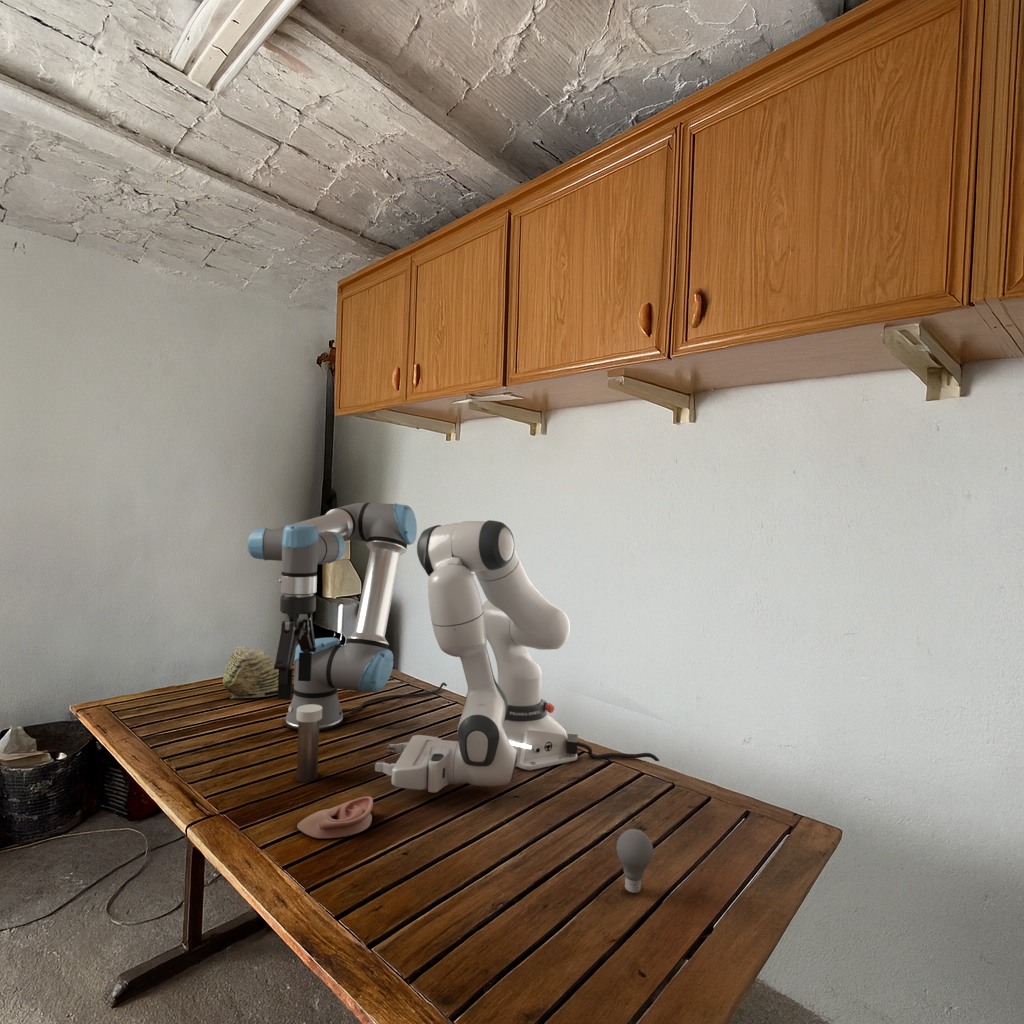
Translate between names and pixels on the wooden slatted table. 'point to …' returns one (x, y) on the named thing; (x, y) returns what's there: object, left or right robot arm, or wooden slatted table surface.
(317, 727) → the metal cylinder
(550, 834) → the wooden slatted table surface
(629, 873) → the light bulb
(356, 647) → the left robot arm
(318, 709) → the lid
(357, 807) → the anatomical model
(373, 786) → the wooden slatted table surface
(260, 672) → the fossil
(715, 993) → the wooden slatted table surface
